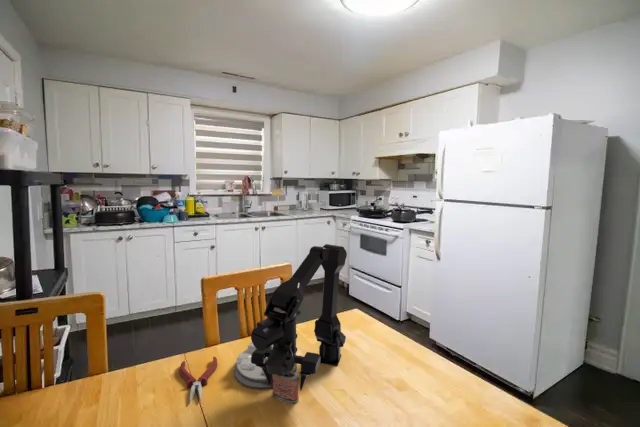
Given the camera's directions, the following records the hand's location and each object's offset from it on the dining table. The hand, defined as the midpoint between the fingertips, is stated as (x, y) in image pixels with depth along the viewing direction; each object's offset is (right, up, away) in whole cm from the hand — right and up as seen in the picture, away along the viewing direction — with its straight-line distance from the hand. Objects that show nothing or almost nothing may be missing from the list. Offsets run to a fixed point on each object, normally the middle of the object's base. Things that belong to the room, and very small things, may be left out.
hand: (285, 386), depth 89 cm
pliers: (-29, -3, +7) cm, 30 cm away
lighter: (0, -4, 0) cm, 4 cm away
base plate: (-8, -2, +14) cm, 16 cm away
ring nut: (-8, 0, +13) cm, 16 cm away
